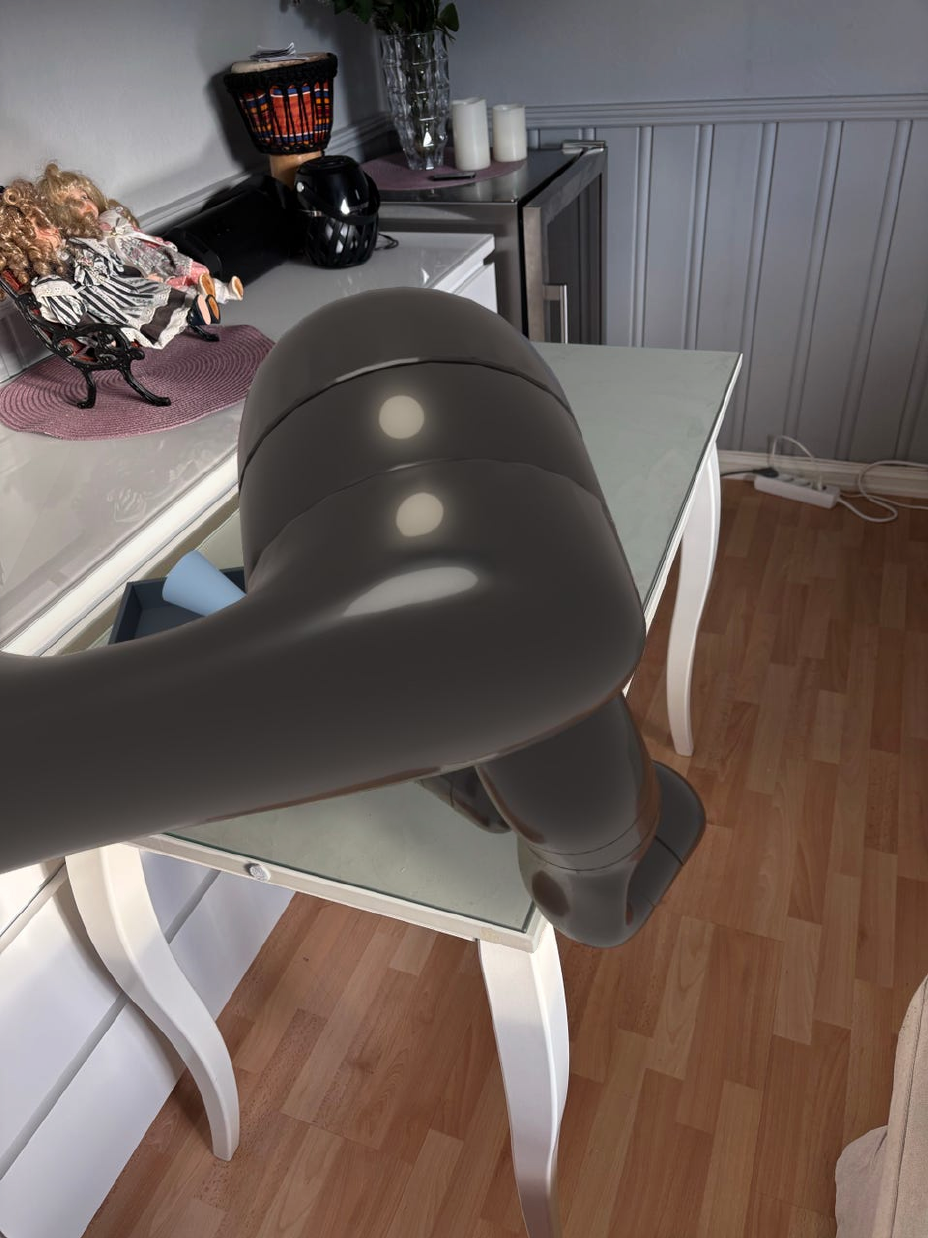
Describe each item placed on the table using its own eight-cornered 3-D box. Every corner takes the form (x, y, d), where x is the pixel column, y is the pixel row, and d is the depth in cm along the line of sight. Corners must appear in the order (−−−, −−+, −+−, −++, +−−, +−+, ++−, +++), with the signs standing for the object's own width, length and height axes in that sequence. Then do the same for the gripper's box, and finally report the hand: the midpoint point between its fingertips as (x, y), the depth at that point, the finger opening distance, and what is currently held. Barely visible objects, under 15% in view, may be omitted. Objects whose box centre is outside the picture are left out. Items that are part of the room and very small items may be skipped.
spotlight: (180, 660, 80) (242, 678, 77) (144, 568, 74) (210, 584, 71) (214, 626, 83) (275, 642, 81) (183, 535, 77) (248, 550, 74)
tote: (103, 743, 74) (86, 709, 72) (139, 613, 87) (126, 581, 85) (337, 709, 75) (328, 675, 72) (337, 585, 88) (330, 553, 86)
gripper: (483, 612, 61) (332, 530, 70) (315, 732, 53) (172, 622, 63) (491, 694, 65) (348, 606, 75) (338, 814, 58) (201, 700, 68)
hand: (268, 614), depth 69 cm, fingers open, 8 cm apart
